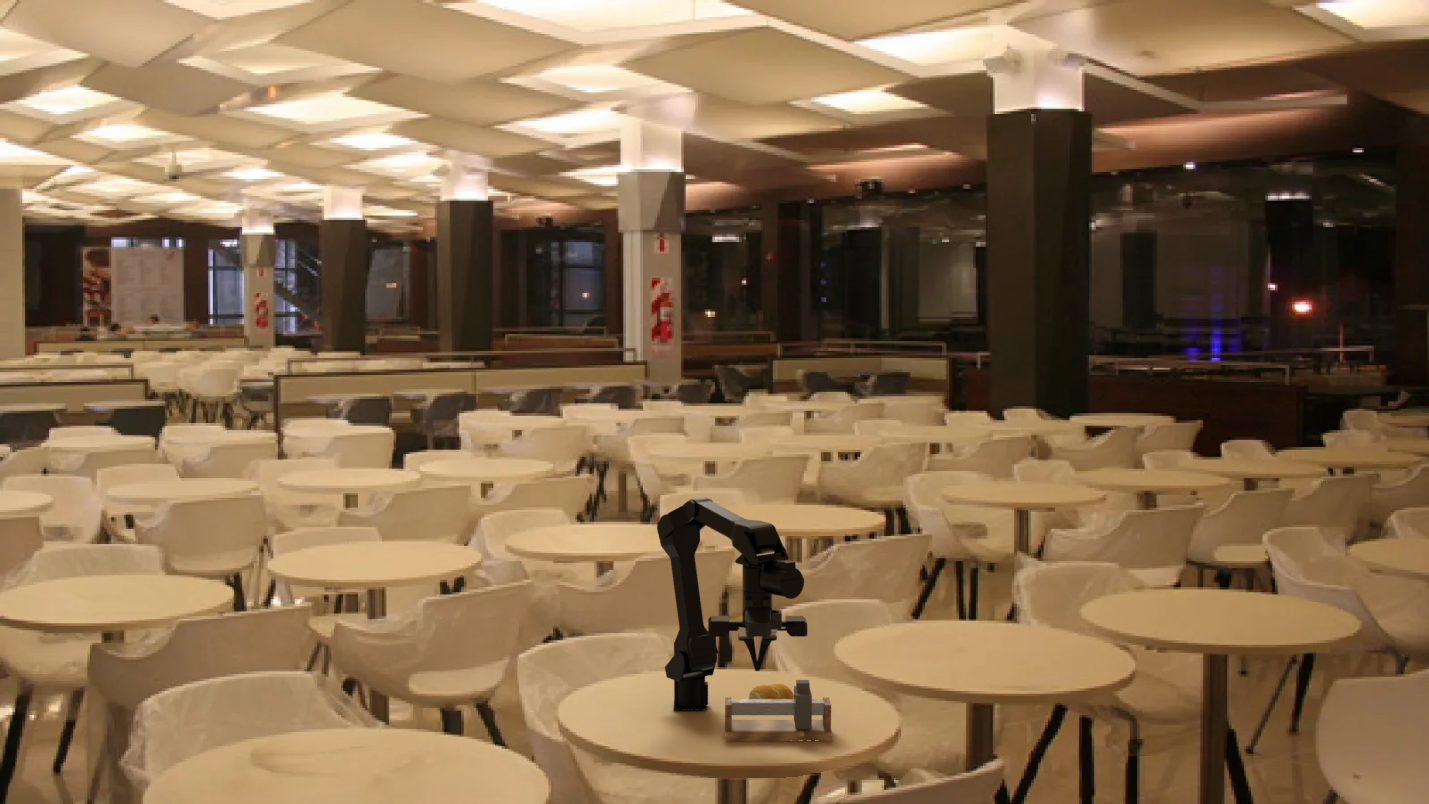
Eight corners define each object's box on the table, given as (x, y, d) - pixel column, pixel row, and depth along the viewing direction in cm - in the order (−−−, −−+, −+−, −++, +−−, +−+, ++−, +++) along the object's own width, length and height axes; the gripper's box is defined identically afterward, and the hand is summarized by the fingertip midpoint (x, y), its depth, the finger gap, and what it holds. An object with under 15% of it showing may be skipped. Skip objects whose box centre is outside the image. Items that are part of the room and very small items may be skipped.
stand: (725, 741, 272) (725, 708, 272) (724, 724, 282) (725, 693, 282) (832, 741, 272) (832, 709, 272) (827, 724, 282) (827, 693, 282)
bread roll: (801, 704, 297) (801, 685, 296) (765, 711, 292) (765, 692, 291) (777, 694, 303) (777, 675, 303) (742, 701, 299) (742, 682, 298)
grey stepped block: (795, 728, 274) (795, 686, 273) (793, 718, 280) (793, 677, 280) (811, 728, 274) (811, 686, 273) (809, 718, 280) (809, 677, 280)
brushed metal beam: (728, 717, 275) (728, 701, 275) (728, 712, 278) (728, 697, 278) (827, 717, 276) (827, 701, 275) (826, 712, 279) (826, 697, 278)
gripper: (708, 599, 267) (708, 682, 268) (809, 599, 267) (809, 682, 268) (708, 586, 278) (708, 666, 279) (805, 586, 278) (805, 666, 279)
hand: (757, 670), depth 276 cm, fingers closed
